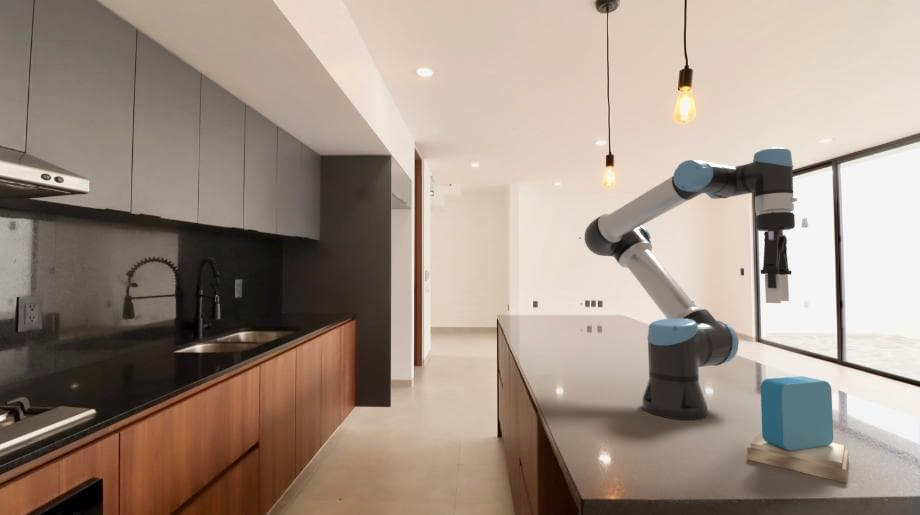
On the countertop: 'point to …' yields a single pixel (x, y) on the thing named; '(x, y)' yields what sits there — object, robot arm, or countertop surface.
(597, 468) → the countertop surface
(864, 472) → the countertop surface
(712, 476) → the countertop surface
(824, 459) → the stand
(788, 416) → the blue box
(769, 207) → the robot arm
